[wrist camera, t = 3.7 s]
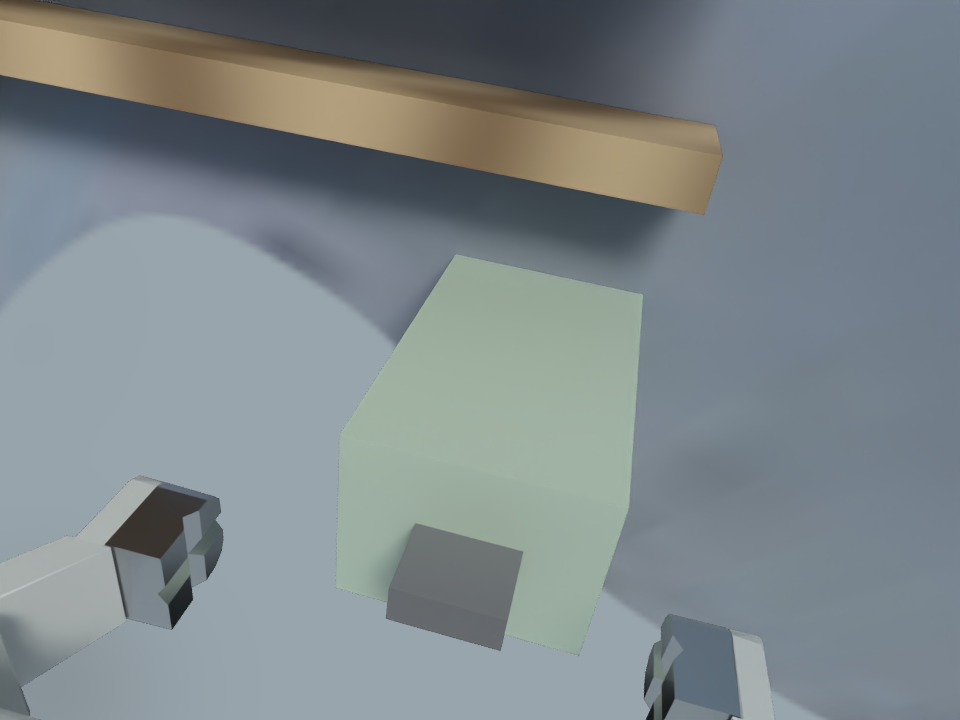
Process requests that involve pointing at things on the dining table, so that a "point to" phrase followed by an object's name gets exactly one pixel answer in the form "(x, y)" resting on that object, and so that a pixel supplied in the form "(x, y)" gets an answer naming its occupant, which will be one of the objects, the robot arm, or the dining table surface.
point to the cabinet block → (494, 458)
